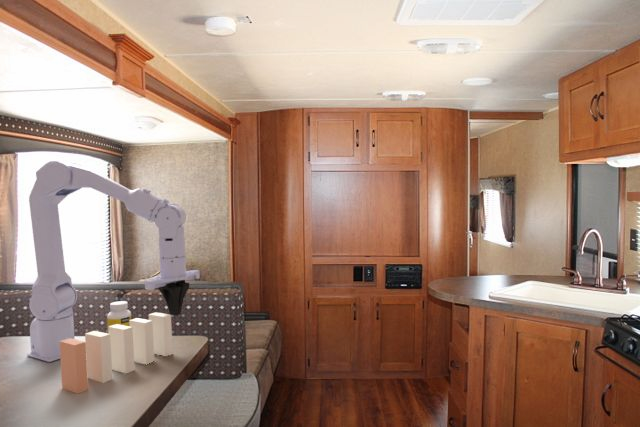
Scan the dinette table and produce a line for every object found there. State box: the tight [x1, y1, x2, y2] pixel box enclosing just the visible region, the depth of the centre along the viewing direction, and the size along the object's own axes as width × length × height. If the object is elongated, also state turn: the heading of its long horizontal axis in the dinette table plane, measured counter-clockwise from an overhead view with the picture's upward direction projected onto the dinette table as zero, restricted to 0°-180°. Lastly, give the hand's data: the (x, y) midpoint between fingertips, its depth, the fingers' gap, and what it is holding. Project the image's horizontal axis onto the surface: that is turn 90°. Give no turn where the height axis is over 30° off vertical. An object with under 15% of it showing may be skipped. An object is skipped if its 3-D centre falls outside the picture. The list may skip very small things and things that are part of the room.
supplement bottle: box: [106, 300, 132, 334], centre depth 110 cm, size 5×5×10 cm
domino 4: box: [148, 312, 174, 357], centre depth 101 cm, size 2×5×9 cm, turn 60°
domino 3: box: [129, 317, 155, 366], centre depth 97 cm, size 2×5×9 cm, turn 60°
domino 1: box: [84, 330, 114, 384], centre depth 88 cm, size 2×5×9 cm, turn 60°
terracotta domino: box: [60, 338, 89, 395], centre depth 84 cm, size 2×5×9 cm, turn 59°
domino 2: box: [107, 324, 135, 374], centre depth 92 cm, size 2×5×9 cm, turn 59°
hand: (175, 314), depth 105 cm, fingers closed
